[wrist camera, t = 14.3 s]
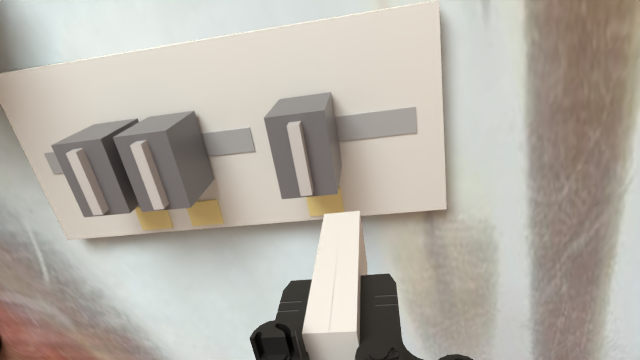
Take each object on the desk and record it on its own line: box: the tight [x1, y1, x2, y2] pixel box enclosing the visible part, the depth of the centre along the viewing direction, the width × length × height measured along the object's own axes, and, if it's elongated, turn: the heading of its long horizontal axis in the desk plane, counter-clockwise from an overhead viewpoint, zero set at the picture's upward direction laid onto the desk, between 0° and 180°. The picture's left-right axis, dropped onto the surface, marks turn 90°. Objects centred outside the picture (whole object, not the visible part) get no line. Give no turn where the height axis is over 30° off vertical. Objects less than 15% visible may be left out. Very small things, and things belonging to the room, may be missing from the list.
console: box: [0, 0, 447, 240], centre depth 34 cm, size 36×16×2 cm, turn 99°
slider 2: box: [113, 111, 214, 212], centre depth 31 cm, size 4×6×6 cm, turn 9°
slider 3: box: [264, 92, 342, 199], centre depth 29 cm, size 4×6×6 cm, turn 9°
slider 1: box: [51, 118, 139, 217], centre depth 32 cm, size 4×6×6 cm, turn 9°
